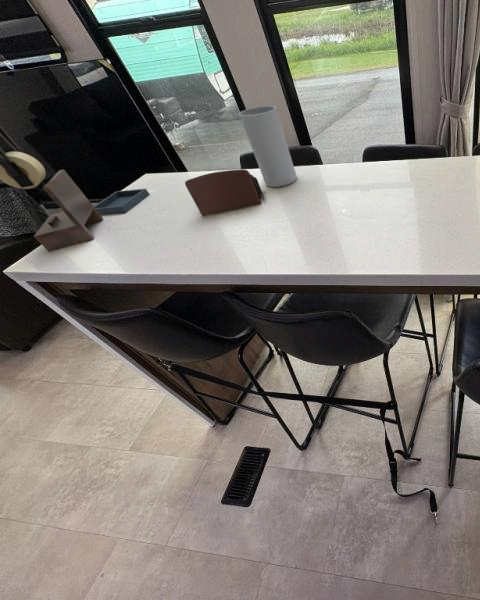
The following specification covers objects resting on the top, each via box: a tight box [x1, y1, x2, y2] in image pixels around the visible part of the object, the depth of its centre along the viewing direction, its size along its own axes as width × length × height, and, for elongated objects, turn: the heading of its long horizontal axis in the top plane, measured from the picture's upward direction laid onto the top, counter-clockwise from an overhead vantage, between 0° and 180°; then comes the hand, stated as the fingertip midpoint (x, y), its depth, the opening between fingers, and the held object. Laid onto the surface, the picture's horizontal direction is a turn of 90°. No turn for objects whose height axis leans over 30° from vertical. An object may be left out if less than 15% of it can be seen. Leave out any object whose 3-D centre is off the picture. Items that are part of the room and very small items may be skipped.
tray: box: [93, 188, 150, 216], centre depth 124 cm, size 16×13×2 cm
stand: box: [33, 169, 105, 252], centre depth 100 cm, size 12×16×19 cm
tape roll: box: [0, 151, 47, 190], centre depth 91 cm, size 9×5×9 cm, turn 116°
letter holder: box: [184, 169, 265, 217], centre depth 108 cm, size 10×20×14 cm, turn 106°
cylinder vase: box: [238, 105, 298, 188], centre depth 119 cm, size 12×12×25 cm
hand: (31, 182), depth 93 cm, fingers closed on tape roll, 5 cm apart
